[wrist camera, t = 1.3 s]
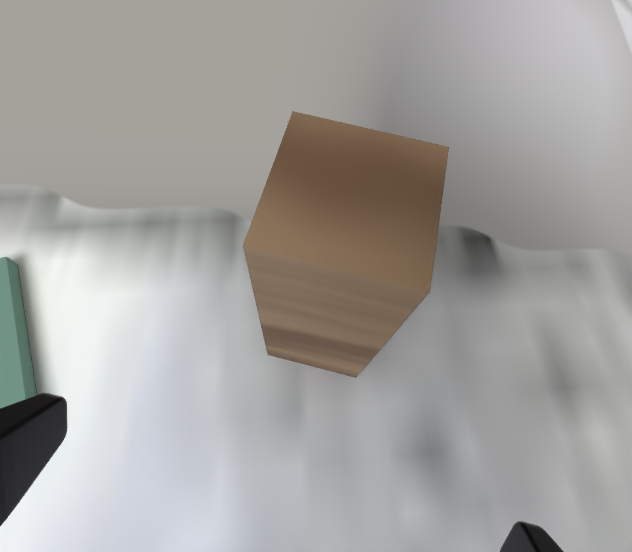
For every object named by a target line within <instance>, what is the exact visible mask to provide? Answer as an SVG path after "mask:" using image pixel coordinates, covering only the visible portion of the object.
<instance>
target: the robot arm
mask: <svg viewBox="0 0 632 552" xmlns="http://www.w3.org/2000/svg"><path fill="white" fill-rule="evenodd" d="M66 433H67V402H66V400H65V398H63V397H61V396H57V395H53V394H49V393H42V394H38V395H36V396H33V397H30V398H27V399H25V400H22V401H19V402H16V403H14V404H11V405H8V406H5V407H3V408H0V526H1V525H2V524H3V522H4V521H5V520H6V519H7V518H8V516H9V515H10V514H11V512H12V511H13V510H14V508H15V507H16V506H17V504H18V503H19V502H20V500H21V499H22V497H23V496H24V495H25V493H26V492H27V491H28V489H29V488H30V486H31V485H32V484H33V482H34V481H35V479H36V478H37V477H38V475H39V474H40V472H41V471H42V470H43V468H44V467H45V466H46V464H47V463H48V461H49V460H50V459H51V457H52V456H53V454H54V453H55V452H56V450H57V449H58V447H59V446H60V445H61V443H62V442H63V440H64V438H65V436H66ZM500 552H563V551H562V549H561V548H560V547H559V546H558V545H557V544H556V543H555V542H554V540H553V539H552V538H551V537H550V536H549V535H548V534H547V532H546V531H545V530H544V529H542V528H541V527H539V526H537V525H533V524H529V523H526V522H522V521H519V522H517V523H515V524H514V526H513V528H512V529H511V531H510V533H509V535H508V537H507V538H506V540H505V542H504V544H503V545H502V547H501V550H500Z"/></svg>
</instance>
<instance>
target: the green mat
mask: <svg viewBox="0 0 632 552" xmlns="http://www.w3.org/2000/svg"><path fill="white" fill-rule="evenodd" d="M36 395H37V394H36V388H35V381H34V374H33V367H32V360H31V354H30V347H29V340H28V333H27V327H26V320H25V313H24V306H23V299H22V293H21V286H20V279H19V272H18V266H17V264H16V263H15V262H13V261H12V260H10V259H9V258H7V257H3V258H0V408H3V407H5V406H8V405H11V404H14V403H16V402H19V401H22V400H25V399H27V398H30V397H33V396H36Z"/></svg>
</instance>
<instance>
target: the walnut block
mask: <svg viewBox="0 0 632 552" xmlns="http://www.w3.org/2000/svg"><path fill="white" fill-rule="evenodd" d="M448 150H449V147H446V146H442V145H438V144H433V143H429V142H424V141H420V140H416V139H411V138H407V137H403V136H398V135H394V134H390V133H385V132H381V131H376V130H372V129H368V128H363V127H359V126H355V125H350V124H345V123H341V122H337V121H333V120H328V119H324V118H320V117H315V116H311V115H306V114H302V113H298V112H292V115H291V118H290V120H289V123H288V126H287V128H286V131H285V134H284V136H283V139H282V142H281V145H280V147H279V150H278V153H277V156H276V158H275V161H274V163H273V166H272V169H271V172H270V174H269V177H268V180H267V182H266V185H265V188H264V191H263V193H262V196H261V199H260V201H259V204H258V207H257V209H256V212H255V215H254V217H253V220H252V223H251V226H250V228H249V231H248V234H247V236H246V239H245V242H244V245H243V248H244V252H245V256H246V261H247V265H248V270H249V274H250V278H251V283H252V287H253V292H254V296H255V300H256V305H257V309H258V314H259V318H260V322H261V327H262V331H263V336H264V340H265V344H266V349H267V353H268V355H271V356H275V357H279V358H283V359H287V360H290V361H294V362H298V363H302V364H306V365H310V366H314V367H318V368H321V369H325V370H329V371H333V372H337V373H341V374H345V375H348V376H352V377H357V376H358V375H359V374H360V372H361V371H362V370H363V369H364V368H365V367H366V365H367V364H368V363H369V362H370V361H371V360H372V358H373V357H374V356H375V355H376V354H377V353H378V351H379V350H380V349H381V348H382V347H383V346H384V344H385V343H386V342H387V341H388V340H389V339H390V337H391V336H392V335H393V334H394V333H395V332H396V330H397V329H398V328H399V327H400V326H401V325H402V324H403V322H404V321H405V320H406V319H407V318H408V317H409V315H410V314H411V313H412V312H413V311H414V310H415V308H416V307H417V306H418V305H419V304H420V303H421V301H422V300H423V299H424V298H425V297H426V296H427V294H428V293H429V292H430V287H431V279H432V272H433V264H434V256H435V249H436V241H437V234H438V226H439V218H440V210H441V203H442V195H443V188H444V180H445V173H446V165H447V157H448Z"/></svg>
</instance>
